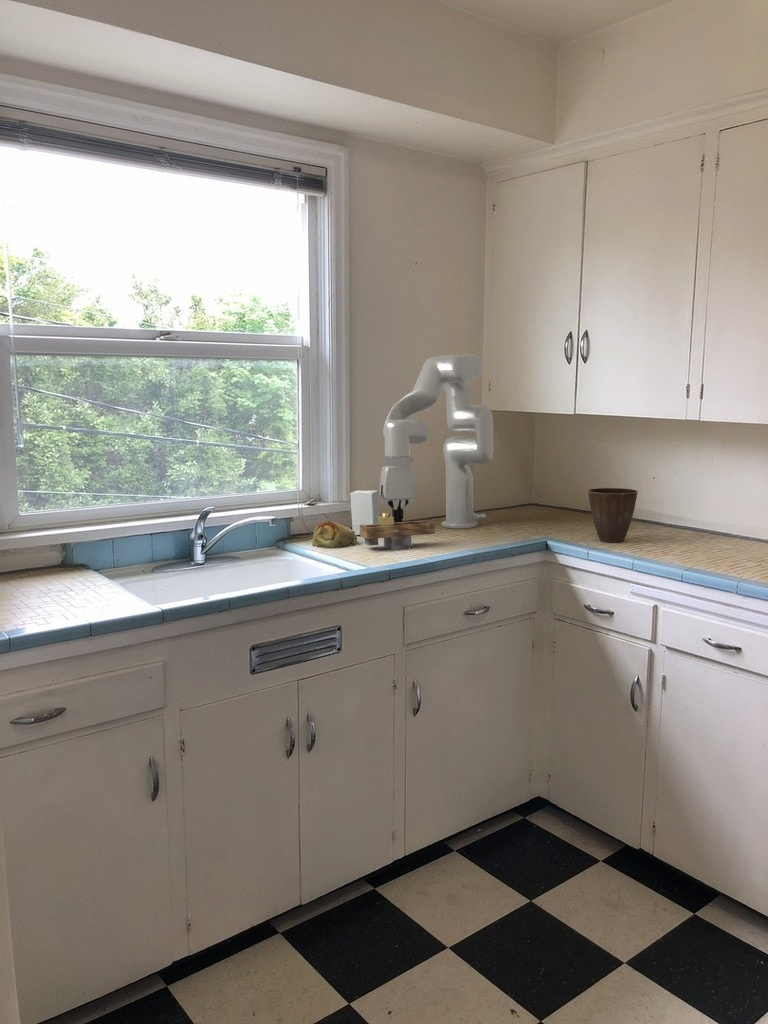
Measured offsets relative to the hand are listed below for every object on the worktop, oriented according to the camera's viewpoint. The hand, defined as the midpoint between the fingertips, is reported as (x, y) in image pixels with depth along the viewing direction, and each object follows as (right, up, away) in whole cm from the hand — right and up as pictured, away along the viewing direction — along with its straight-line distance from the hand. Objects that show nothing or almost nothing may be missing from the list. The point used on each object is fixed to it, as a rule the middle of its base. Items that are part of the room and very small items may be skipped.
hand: (397, 521), depth 249 cm
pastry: (-20, -8, +7) cm, 22 cm away
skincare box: (-10, -5, +23) cm, 26 cm away
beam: (0, -8, +1) cm, 8 cm away
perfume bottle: (-4, -2, -1) cm, 4 cm away
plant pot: (+68, -6, +8) cm, 68 cm away
